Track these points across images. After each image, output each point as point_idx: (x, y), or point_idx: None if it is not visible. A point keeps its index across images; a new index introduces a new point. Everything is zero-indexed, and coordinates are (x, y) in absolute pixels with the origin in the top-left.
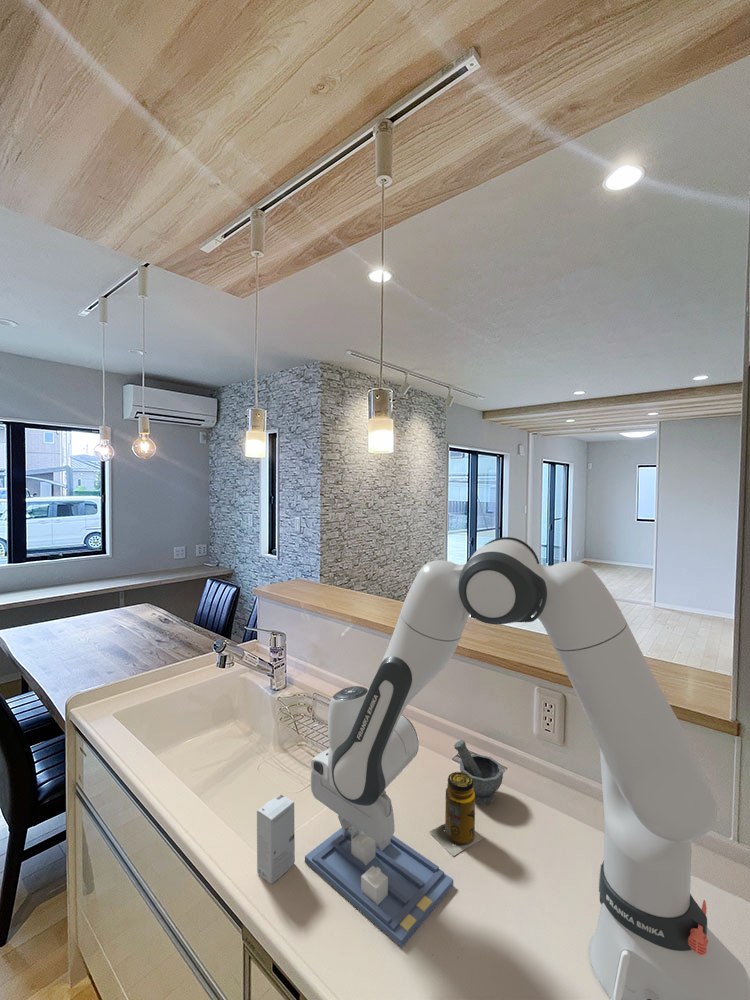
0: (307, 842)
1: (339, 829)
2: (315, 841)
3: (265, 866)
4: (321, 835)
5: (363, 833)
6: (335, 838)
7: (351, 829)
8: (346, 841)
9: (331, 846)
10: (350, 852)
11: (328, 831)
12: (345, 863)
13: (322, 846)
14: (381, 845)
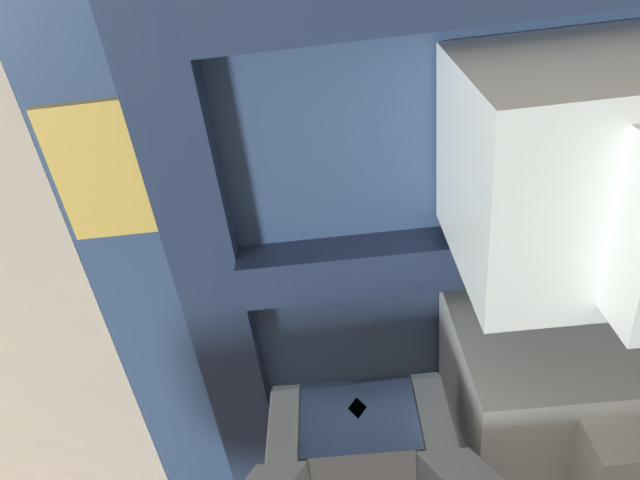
0: (57, 454)
1: (101, 308)
2: (78, 419)
3: None
4: (40, 368)
5: (525, 421)
6: (185, 382)
7: (361, 474)
8: (276, 336)
9: (261, 463)
10: (400, 373)
11: (24, 312)
12: None
13: (197, 473)
14: None
